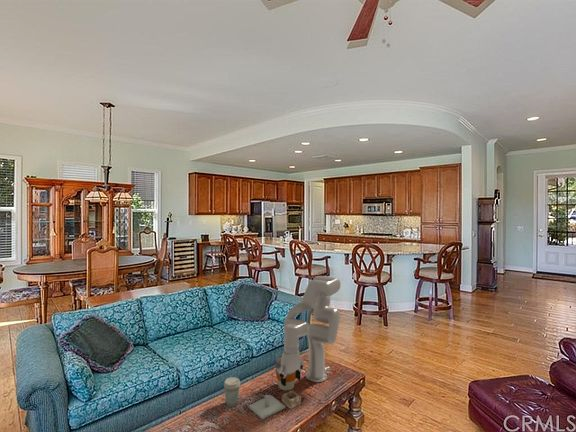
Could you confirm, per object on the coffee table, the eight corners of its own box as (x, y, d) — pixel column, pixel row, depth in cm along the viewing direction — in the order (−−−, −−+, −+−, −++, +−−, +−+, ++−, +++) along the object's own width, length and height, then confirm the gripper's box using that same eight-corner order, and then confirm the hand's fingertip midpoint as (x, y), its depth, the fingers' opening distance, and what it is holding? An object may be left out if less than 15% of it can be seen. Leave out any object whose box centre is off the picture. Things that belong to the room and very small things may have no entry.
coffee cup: (224, 410, 161) (224, 386, 161) (223, 400, 169) (223, 377, 169) (241, 407, 163) (241, 384, 163) (239, 397, 172) (239, 375, 171)
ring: (292, 397, 172) (292, 390, 172) (300, 403, 166) (300, 396, 166) (281, 402, 167) (281, 394, 167) (290, 409, 162) (290, 401, 162)
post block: (271, 396, 172) (271, 385, 172) (285, 407, 163) (285, 396, 163) (248, 407, 163) (248, 395, 163) (262, 419, 154) (262, 407, 154)
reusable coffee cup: (298, 380, 188) (298, 355, 188) (296, 392, 176) (296, 365, 175) (276, 379, 190) (276, 354, 189) (273, 391, 177) (273, 364, 177)
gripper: (299, 342, 174) (298, 373, 174) (273, 350, 163) (272, 384, 163) (308, 347, 168) (308, 379, 169) (282, 356, 157) (282, 390, 158)
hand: (290, 381), depth 166 cm, fingers open, 9 cm apart
